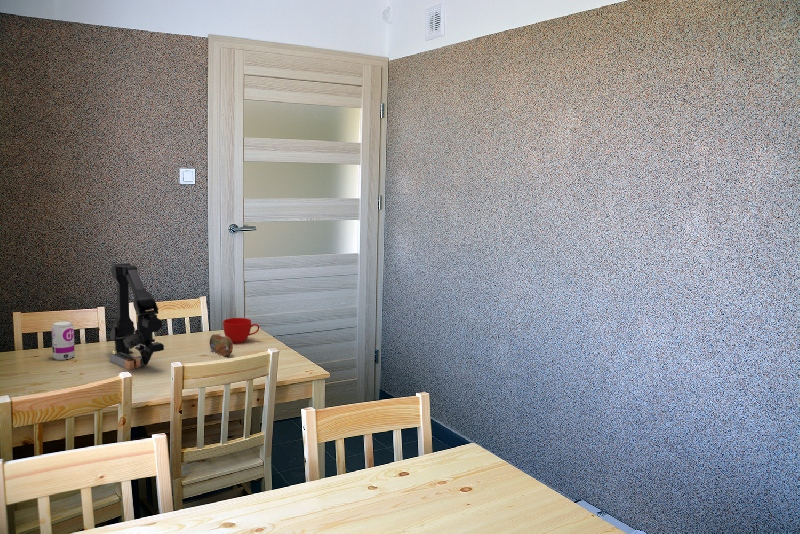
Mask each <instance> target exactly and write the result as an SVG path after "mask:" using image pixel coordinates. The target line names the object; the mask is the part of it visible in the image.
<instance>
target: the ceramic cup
mask: <svg viewBox="0 0 800 534" xmlns="http://www.w3.org/2000/svg"><path fill="white" fill-rule="evenodd" d="M222 325H223V326H222V327H223V333H224V336H226V337H229V338H230V339H231V340H232V343H233V344H242V343H244V342H246V340H247V339H248V337H249V336H252V335H255V334H257V333H258V332H259V330H260V326H259V324H258V323H252V319H250V318H244V317H232V318H226V319H223V321H222ZM254 326H256V327H257V329H256V330H255V331H254V332H251V329H252V327H254Z"/></svg>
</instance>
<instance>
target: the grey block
mask: <svg viewBox="0 0 800 534" xmlns="http://www.w3.org/2000/svg"><path fill="white" fill-rule="evenodd" d="M135 357H136V358H139V359H140V367H139V368H142V367H144V366H145V367H146V366H147V365H145V364H144V362H143V359H142V357H141V355H139V356H135Z"/></svg>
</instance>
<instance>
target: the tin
mask: <svg viewBox="0 0 800 534" xmlns="http://www.w3.org/2000/svg"><path fill="white" fill-rule="evenodd" d="M233 347H234V343H232V340H231V339H230V338H229V337H226V336H225V335H222V334H215V333H213V334H212V335H211V336H210V339H209V348H210V350H211V351H212V353H213V352H215V353H214V354H216V353H218V354H217V355H219V354H220V355H219V356H221V355H222V357H227V356H230V355H232V353H233Z"/></svg>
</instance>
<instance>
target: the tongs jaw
mask: <svg viewBox="0 0 800 534" xmlns="http://www.w3.org/2000/svg"><path fill="white" fill-rule="evenodd" d="M117 354H118V355H121V356H123V357H126V358H128V359H131V360H133V361H134V369H138V368H141V367H140V359H139V358H136V357H137V356H134V355H130V354H129V353H128V354H125V353H123V352H119V353H117Z"/></svg>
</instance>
